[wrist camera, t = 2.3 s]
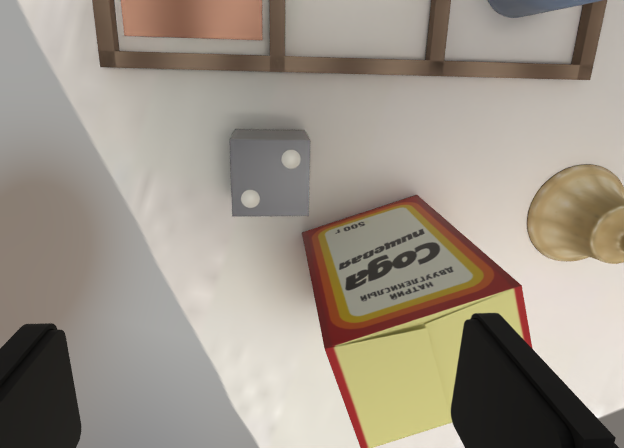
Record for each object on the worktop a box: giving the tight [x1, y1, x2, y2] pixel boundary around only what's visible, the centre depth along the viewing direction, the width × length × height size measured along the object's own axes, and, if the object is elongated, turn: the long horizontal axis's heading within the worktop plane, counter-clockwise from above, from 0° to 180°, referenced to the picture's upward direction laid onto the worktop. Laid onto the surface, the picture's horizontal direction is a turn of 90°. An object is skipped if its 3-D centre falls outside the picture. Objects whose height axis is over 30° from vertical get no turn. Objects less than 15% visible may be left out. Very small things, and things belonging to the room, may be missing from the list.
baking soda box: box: [302, 195, 532, 448], centre depth 29 cm, size 10×6×16 cm
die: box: [230, 129, 310, 216], centre depth 31 cm, size 5×5×5 cm
